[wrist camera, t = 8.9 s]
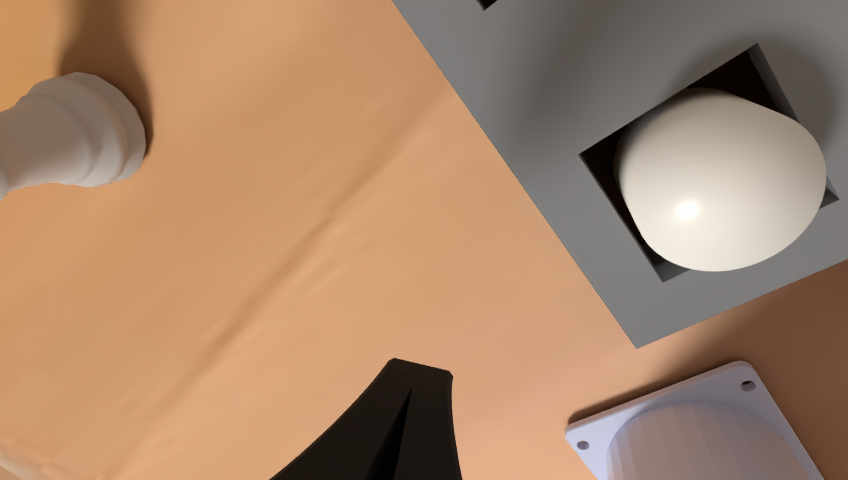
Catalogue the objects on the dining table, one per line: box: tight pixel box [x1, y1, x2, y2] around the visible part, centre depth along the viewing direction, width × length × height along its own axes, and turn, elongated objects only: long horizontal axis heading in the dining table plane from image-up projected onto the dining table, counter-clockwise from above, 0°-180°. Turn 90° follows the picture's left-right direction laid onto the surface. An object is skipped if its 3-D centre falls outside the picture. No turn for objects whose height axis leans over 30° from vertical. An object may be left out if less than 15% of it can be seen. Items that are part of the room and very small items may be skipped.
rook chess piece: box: [0, 72, 146, 201], centre depth 17 cm, size 4×4×8 cm
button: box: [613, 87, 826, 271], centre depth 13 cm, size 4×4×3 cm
